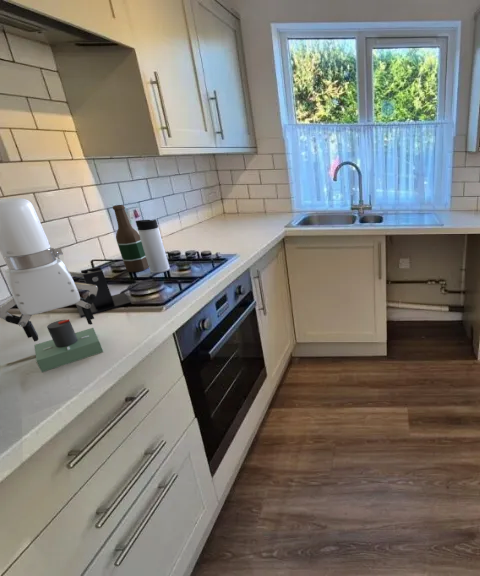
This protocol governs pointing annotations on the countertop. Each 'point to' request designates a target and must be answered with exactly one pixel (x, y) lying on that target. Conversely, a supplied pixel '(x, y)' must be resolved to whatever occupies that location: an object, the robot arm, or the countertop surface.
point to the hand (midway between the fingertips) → (64, 330)
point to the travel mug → (153, 246)
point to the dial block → (67, 350)
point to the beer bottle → (129, 242)
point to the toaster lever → (78, 274)
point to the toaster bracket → (102, 293)
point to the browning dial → (62, 333)
